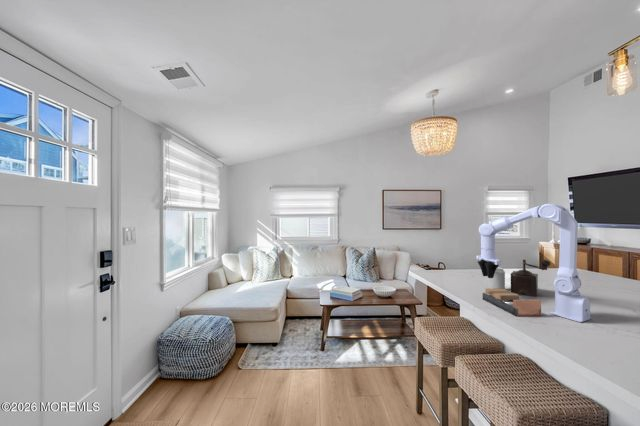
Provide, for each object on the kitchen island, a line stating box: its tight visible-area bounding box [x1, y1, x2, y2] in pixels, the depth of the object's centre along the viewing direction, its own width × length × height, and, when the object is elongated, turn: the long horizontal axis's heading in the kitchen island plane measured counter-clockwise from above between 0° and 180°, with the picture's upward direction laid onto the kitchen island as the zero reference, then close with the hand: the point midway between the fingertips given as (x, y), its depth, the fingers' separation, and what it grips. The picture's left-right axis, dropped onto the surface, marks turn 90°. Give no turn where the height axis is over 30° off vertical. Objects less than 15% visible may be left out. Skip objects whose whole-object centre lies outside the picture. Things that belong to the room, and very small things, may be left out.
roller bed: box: [482, 292, 542, 317], centre depth 112 cm, size 20×10×6 cm, turn 2°
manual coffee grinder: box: [509, 259, 552, 297], centre depth 130 cm, size 16×11×18 cm
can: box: [486, 266, 506, 290], centre depth 135 cm, size 8×8×12 cm
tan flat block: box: [484, 288, 520, 300], centre depth 117 cm, size 10×8×2 cm
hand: (487, 277), depth 126 cm, fingers open, 3 cm apart
